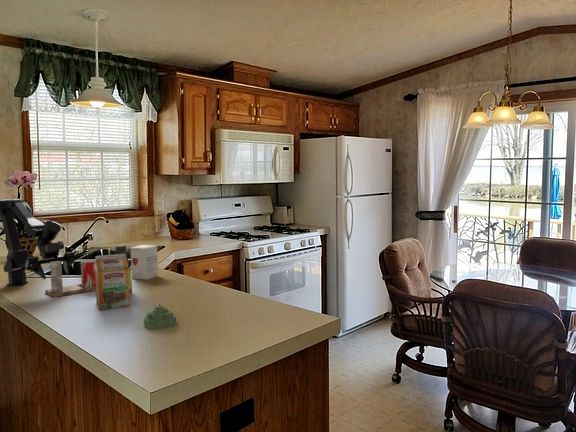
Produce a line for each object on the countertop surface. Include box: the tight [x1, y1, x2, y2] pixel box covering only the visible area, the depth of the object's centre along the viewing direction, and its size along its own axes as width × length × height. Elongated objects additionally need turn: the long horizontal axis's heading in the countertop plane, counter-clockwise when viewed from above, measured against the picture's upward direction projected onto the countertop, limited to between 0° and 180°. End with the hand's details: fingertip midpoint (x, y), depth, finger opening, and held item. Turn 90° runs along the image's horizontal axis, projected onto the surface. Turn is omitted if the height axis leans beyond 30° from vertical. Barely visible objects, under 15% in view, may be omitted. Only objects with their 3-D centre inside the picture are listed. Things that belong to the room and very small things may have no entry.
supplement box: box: [130, 244, 159, 281], centre depth 225 cm, size 9×9×15 cm
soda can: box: [80, 259, 96, 288], centre depth 205 cm, size 7×7×12 cm
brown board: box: [44, 261, 96, 298], centre depth 201 cm, size 22×10×13 cm, turn 135°
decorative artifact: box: [143, 303, 177, 330], centre depth 154 cm, size 10×7×10 cm
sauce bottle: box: [115, 244, 133, 294], centre depth 195 cm, size 7×6×20 cm
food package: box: [94, 253, 131, 312], centre depth 177 cm, size 11×11×19 cm
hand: (57, 276), depth 195 cm, fingers open, 9 cm apart
